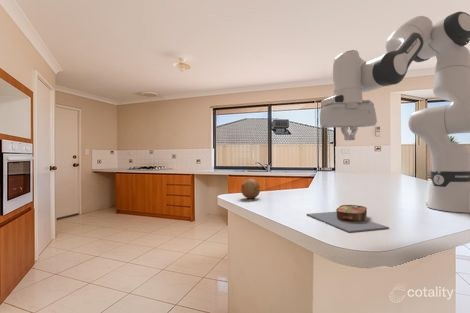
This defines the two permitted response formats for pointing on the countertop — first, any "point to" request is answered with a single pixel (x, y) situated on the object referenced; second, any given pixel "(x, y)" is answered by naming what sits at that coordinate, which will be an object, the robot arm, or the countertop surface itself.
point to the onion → (250, 188)
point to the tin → (351, 212)
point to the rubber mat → (347, 222)
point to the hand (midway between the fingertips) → (349, 140)
